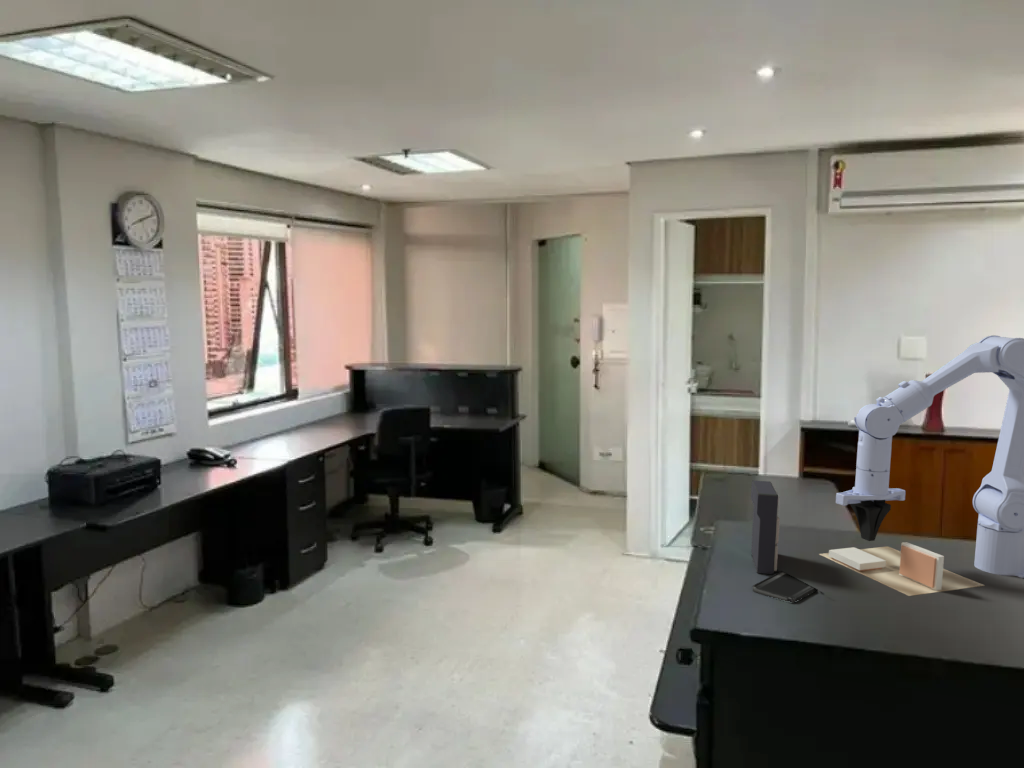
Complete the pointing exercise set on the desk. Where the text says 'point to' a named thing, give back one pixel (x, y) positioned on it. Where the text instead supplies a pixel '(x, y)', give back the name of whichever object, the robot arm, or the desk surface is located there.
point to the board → (903, 584)
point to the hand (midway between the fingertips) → (867, 539)
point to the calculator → (765, 526)
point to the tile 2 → (921, 566)
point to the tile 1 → (857, 559)
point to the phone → (783, 587)
